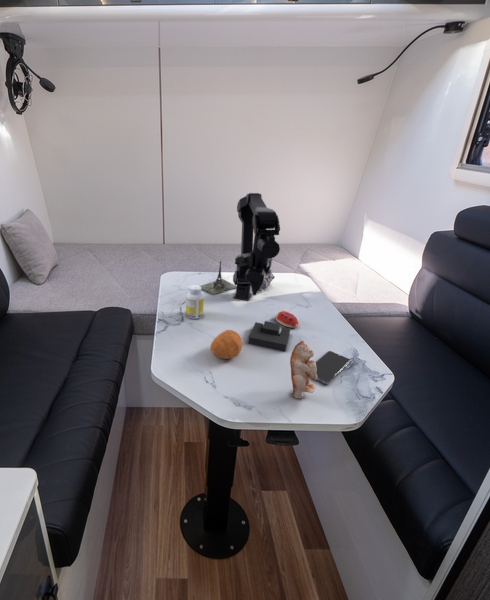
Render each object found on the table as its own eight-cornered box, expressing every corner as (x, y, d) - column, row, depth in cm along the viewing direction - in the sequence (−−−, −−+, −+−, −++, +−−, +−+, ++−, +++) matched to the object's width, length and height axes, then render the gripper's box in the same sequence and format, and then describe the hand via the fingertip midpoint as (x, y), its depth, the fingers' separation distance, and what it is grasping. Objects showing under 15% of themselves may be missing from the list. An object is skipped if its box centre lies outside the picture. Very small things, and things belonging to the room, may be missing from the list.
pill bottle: (203, 312, 143) (204, 284, 138) (202, 320, 137) (204, 291, 132) (186, 310, 143) (187, 283, 138) (184, 318, 138) (185, 290, 133)
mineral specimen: (266, 288, 155) (267, 264, 157) (246, 289, 161) (247, 267, 163) (279, 293, 164) (280, 271, 166) (260, 294, 170) (261, 273, 172)
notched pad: (254, 328, 132) (255, 322, 131) (289, 335, 128) (290, 328, 127) (248, 343, 123) (248, 337, 122) (285, 351, 119) (286, 344, 118)
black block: (263, 330, 131) (265, 320, 129) (278, 333, 129) (280, 323, 127) (260, 338, 126) (262, 327, 125) (276, 341, 125) (278, 330, 123)
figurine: (310, 405, 97) (320, 357, 90) (281, 394, 100) (289, 347, 94) (315, 392, 102) (326, 345, 95) (288, 382, 105) (296, 336, 99)
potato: (248, 354, 117) (251, 334, 114) (225, 368, 110) (227, 347, 107) (226, 342, 123) (227, 323, 120) (203, 355, 116) (204, 335, 113)
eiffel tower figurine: (222, 280, 172) (224, 252, 166) (238, 287, 165) (241, 258, 159) (197, 287, 164) (199, 258, 158) (213, 295, 157) (215, 265, 151)
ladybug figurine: (283, 315, 142) (285, 307, 140) (303, 326, 134) (305, 318, 132) (270, 319, 138) (271, 310, 137) (289, 331, 131) (291, 322, 129)
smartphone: (303, 371, 108) (329, 349, 118) (303, 374, 109) (328, 352, 119) (328, 383, 103) (352, 359, 113) (327, 386, 104) (351, 362, 114)
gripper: (244, 238, 137) (240, 277, 144) (231, 253, 121) (228, 296, 128) (275, 242, 133) (269, 282, 140) (266, 258, 118) (260, 302, 124)
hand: (256, 290), depth 133 cm, fingers open, 9 cm apart
